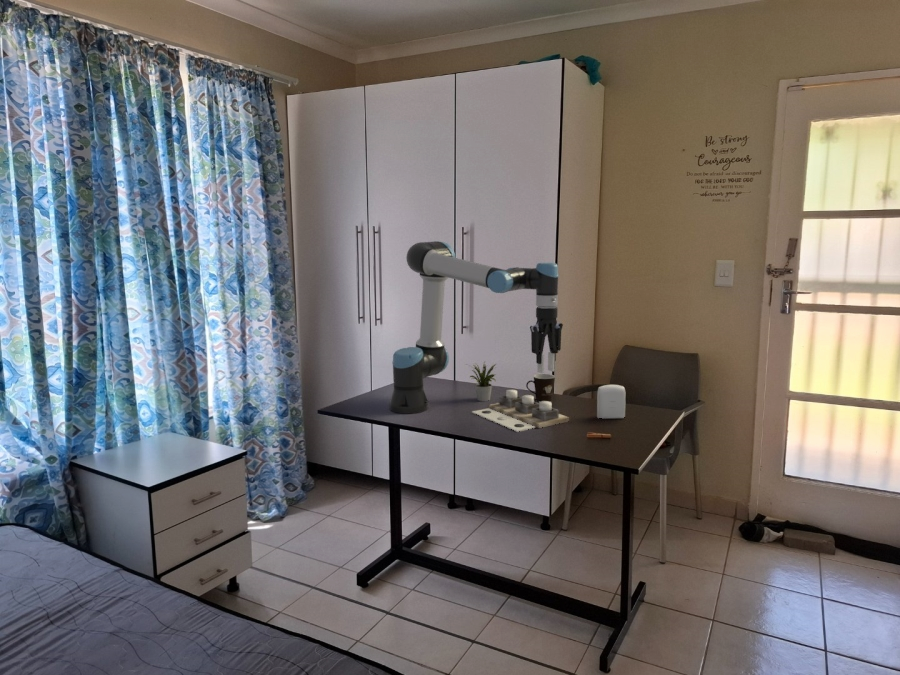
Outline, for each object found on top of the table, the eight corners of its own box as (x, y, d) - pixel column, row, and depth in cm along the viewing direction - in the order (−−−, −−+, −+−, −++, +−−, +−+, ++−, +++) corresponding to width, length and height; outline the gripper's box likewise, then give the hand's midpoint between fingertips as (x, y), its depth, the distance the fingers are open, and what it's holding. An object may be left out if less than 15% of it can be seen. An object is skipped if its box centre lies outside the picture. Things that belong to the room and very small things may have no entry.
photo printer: (598, 419, 232) (599, 386, 230) (595, 415, 236) (596, 383, 234) (626, 419, 232) (627, 386, 230) (623, 415, 236) (624, 383, 234)
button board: (489, 408, 248) (489, 397, 247) (517, 402, 255) (517, 391, 254) (539, 428, 223) (539, 415, 222) (569, 421, 230) (569, 409, 229)
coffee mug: (553, 397, 262) (554, 373, 261) (555, 403, 254) (555, 378, 252) (525, 397, 263) (525, 373, 262) (526, 402, 255) (526, 378, 253)
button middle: (519, 405, 239) (519, 396, 238) (528, 403, 241) (528, 394, 241) (527, 408, 235) (527, 398, 235) (536, 406, 238) (536, 397, 237)
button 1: (503, 399, 247) (503, 390, 247) (512, 397, 250) (512, 389, 249) (510, 401, 244) (510, 393, 243) (519, 400, 246) (519, 391, 245)
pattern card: (471, 412, 242) (471, 411, 242) (488, 409, 246) (488, 407, 246) (517, 432, 219) (517, 430, 219) (535, 428, 223) (535, 426, 223)
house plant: (461, 404, 254) (461, 364, 251) (464, 395, 268) (464, 357, 265) (497, 405, 252) (497, 364, 249) (498, 395, 266) (498, 357, 263)
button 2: (536, 411, 231) (536, 402, 230) (546, 409, 233) (546, 400, 232) (544, 414, 227) (544, 405, 226) (554, 412, 229) (554, 403, 229)
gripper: (534, 309, 216) (534, 376, 220) (572, 306, 225) (571, 370, 229) (520, 307, 222) (520, 372, 226) (558, 304, 231) (557, 366, 235)
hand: (545, 371), depth 227 cm, fingers open, 4 cm apart
